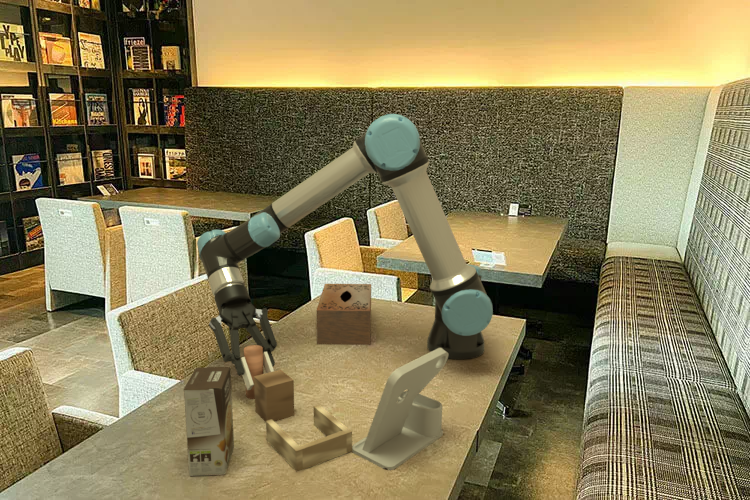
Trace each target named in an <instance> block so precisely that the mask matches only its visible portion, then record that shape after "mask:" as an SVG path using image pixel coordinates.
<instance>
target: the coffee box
mask: <svg viewBox="0 0 750 500" xmlns="http://www.w3.org/2000/svg"><path fill="white" fill-rule="evenodd" d="M231 373H232V371H231V366H206V367H195V369H194V370H193V371H192V374H191V376H190V377H189V379H188V381H187V382H186V385H185V386H184V388H183V392H184V393H183V396H184V410H185V411H184V412H185V428H186V430H185V431H186V444H187V460H188V475H189V476H190V477H196V476H197V477H198V476H200V477H201V476H215V475H216V476H218V475H222V476H223V475H225V474H226V473H227V470H228V468H229V467H228V466H229V464H230V460H231V456H232V453H233V450H234V447H235V442H234V441H235V439H234V438H235V437H234V436H235V435H234V417H233V396H232V395H233V393H232V374H231Z"/></svg>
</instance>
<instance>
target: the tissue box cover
mask: <svg viewBox="0 0 750 500" xmlns="http://www.w3.org/2000/svg"><path fill="white" fill-rule="evenodd" d="M371 324H372V283H324V286H323V289H322V292H321V296H320V299H319V302H318V305H317V307H316V345H327V346H328V345H330V346H331V345H334V346H335V345H336V346H337V345H338V346H339V345H340V346H343V345H346V346H370V345H371V327H372V325H371Z"/></svg>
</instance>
